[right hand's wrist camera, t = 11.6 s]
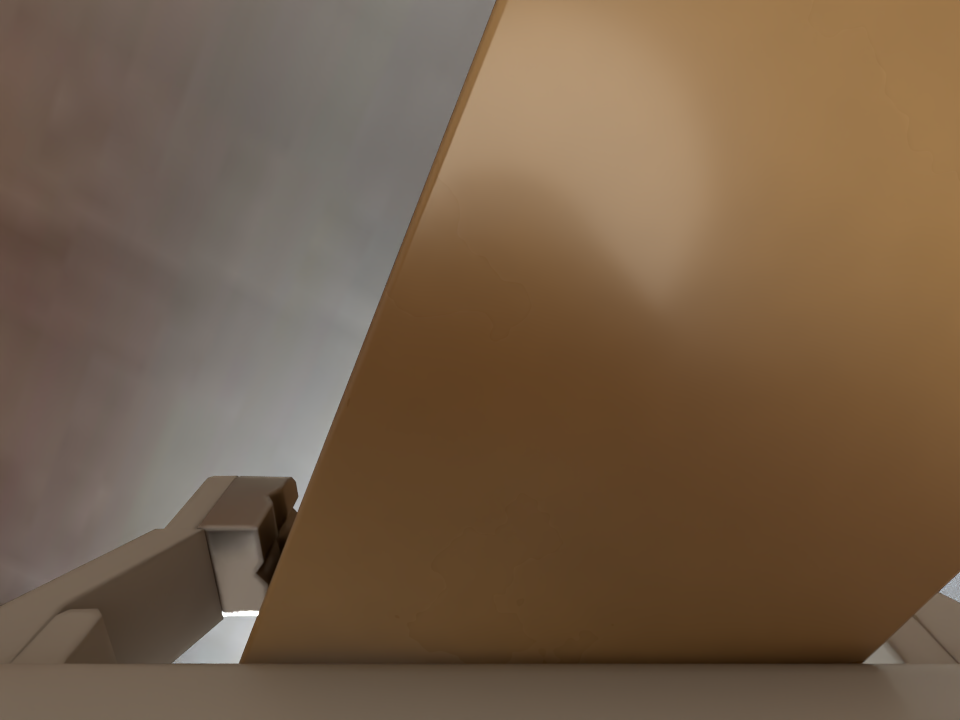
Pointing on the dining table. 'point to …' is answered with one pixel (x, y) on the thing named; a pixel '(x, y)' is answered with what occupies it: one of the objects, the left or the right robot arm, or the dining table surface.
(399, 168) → the dining table surface
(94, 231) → the dining table surface
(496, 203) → the bar
